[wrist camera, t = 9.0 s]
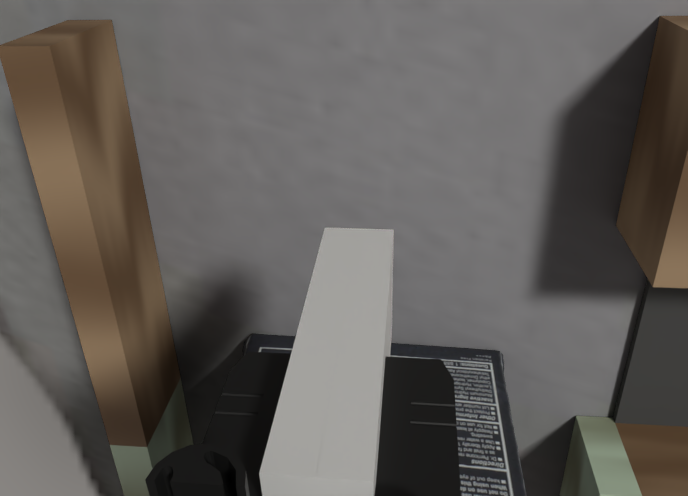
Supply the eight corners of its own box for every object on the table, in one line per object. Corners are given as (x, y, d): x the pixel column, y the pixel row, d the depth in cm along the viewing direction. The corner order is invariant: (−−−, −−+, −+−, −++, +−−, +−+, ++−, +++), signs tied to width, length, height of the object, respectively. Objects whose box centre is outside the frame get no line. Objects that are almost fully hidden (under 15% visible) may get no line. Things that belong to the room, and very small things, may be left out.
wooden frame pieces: (67, 20, 21) (-4, 46, 17) (1230, 12, 17) (1433, 42, 14) (175, 499, 32) (146, 573, 28) (894, 548, 29) (960, 639, 25)
